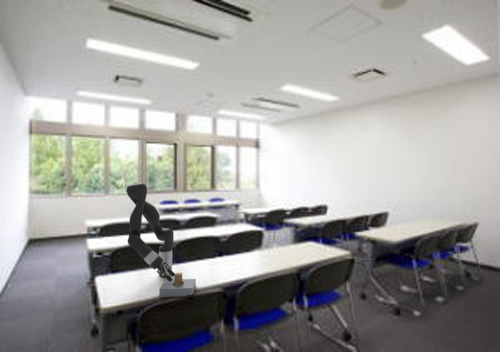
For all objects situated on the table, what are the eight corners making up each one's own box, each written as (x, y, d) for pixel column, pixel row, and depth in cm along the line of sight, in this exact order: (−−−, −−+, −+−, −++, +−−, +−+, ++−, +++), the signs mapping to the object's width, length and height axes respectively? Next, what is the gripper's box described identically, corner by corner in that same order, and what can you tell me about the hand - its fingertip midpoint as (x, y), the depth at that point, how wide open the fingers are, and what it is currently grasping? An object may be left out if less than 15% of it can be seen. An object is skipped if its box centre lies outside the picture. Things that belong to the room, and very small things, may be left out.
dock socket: (165, 286, 170) (165, 279, 170) (195, 285, 172) (195, 278, 172) (159, 296, 155) (159, 289, 155) (192, 295, 157) (192, 287, 157)
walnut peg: (175, 288, 165) (175, 272, 166) (182, 288, 166) (182, 272, 166) (174, 290, 161) (174, 275, 162) (181, 290, 162) (181, 274, 162)
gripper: (155, 258, 156) (175, 277, 157) (161, 252, 170) (179, 269, 171) (145, 268, 155) (165, 287, 156) (152, 260, 170) (170, 278, 170)
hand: (172, 278), depth 164 cm, fingers open, 8 cm apart
